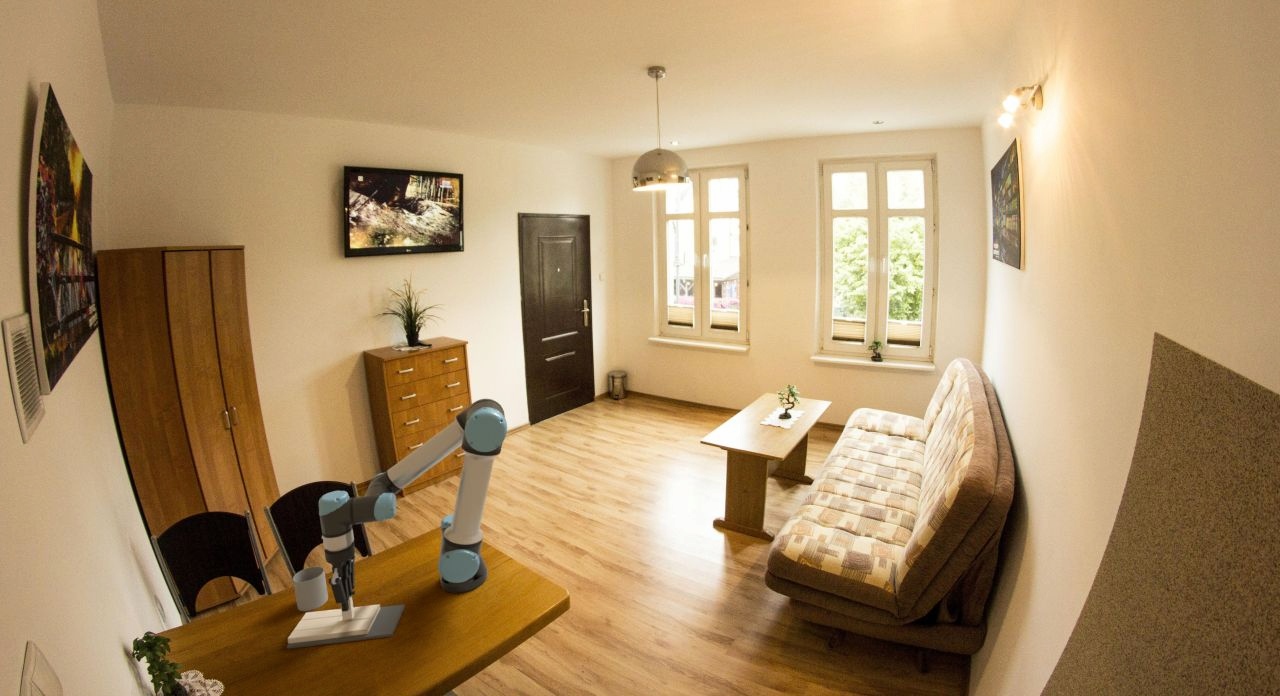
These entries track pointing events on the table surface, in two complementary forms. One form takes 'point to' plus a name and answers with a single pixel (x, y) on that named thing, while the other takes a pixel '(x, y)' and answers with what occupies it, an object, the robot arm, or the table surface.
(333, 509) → the robot arm
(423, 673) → the table surface
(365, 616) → the loose plank
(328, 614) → the floor section
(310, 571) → the cup
